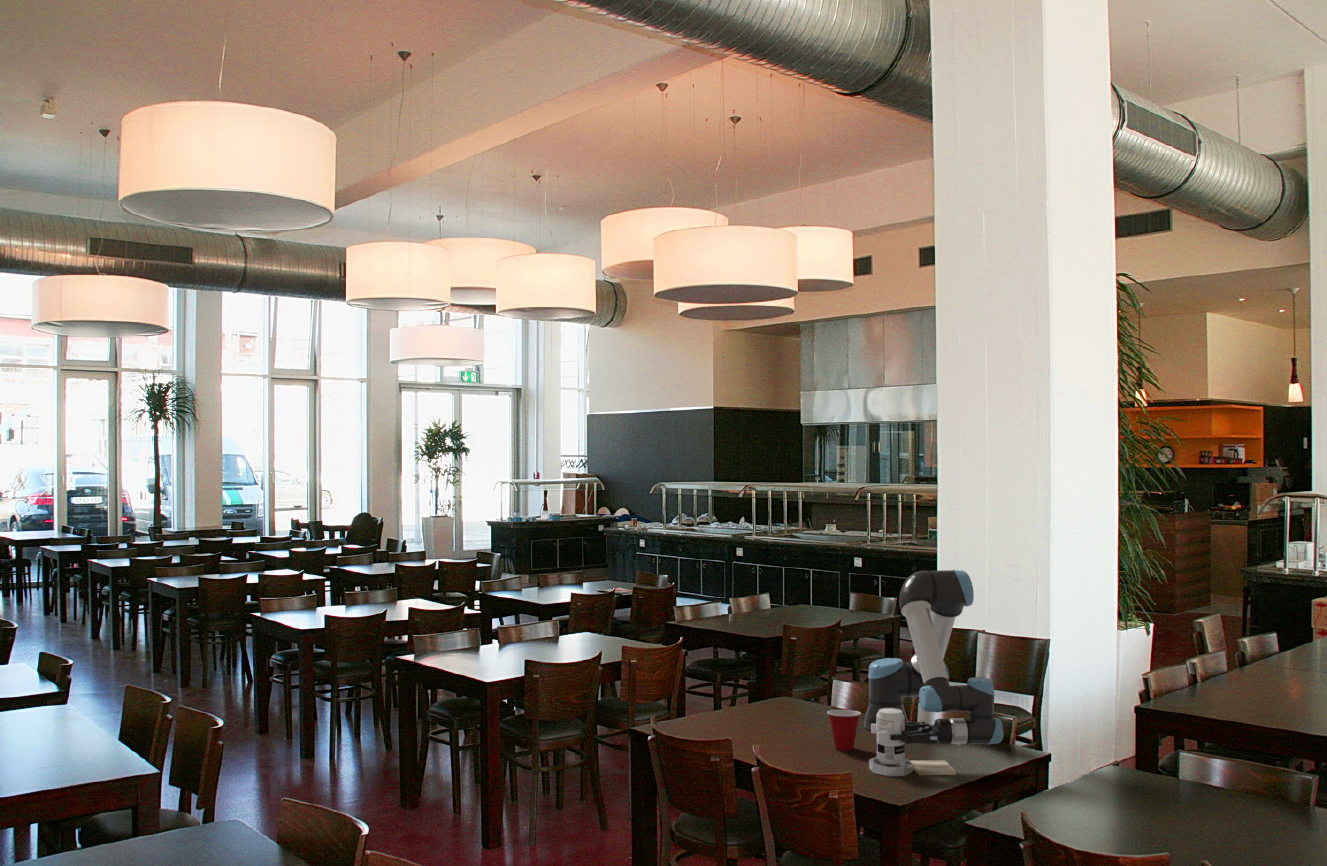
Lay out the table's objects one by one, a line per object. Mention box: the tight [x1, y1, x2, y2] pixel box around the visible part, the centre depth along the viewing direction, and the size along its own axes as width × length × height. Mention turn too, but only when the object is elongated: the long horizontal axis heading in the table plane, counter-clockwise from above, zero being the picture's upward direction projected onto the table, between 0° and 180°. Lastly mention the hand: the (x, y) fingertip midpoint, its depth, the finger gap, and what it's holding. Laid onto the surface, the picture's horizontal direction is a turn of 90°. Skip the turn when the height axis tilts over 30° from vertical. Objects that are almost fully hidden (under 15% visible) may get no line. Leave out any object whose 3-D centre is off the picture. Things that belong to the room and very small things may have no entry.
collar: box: [868, 756, 914, 777], centre depth 313 cm, size 12×12×2 cm
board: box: [909, 759, 957, 776], centre depth 313 cm, size 11×11×1 cm
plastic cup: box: [826, 709, 862, 752], centre depth 337 cm, size 11×11×12 cm
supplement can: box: [876, 708, 906, 764], centre depth 313 cm, size 8×8×15 cm
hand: (874, 732), depth 313 cm, fingers closed on supplement can, 8 cm apart
